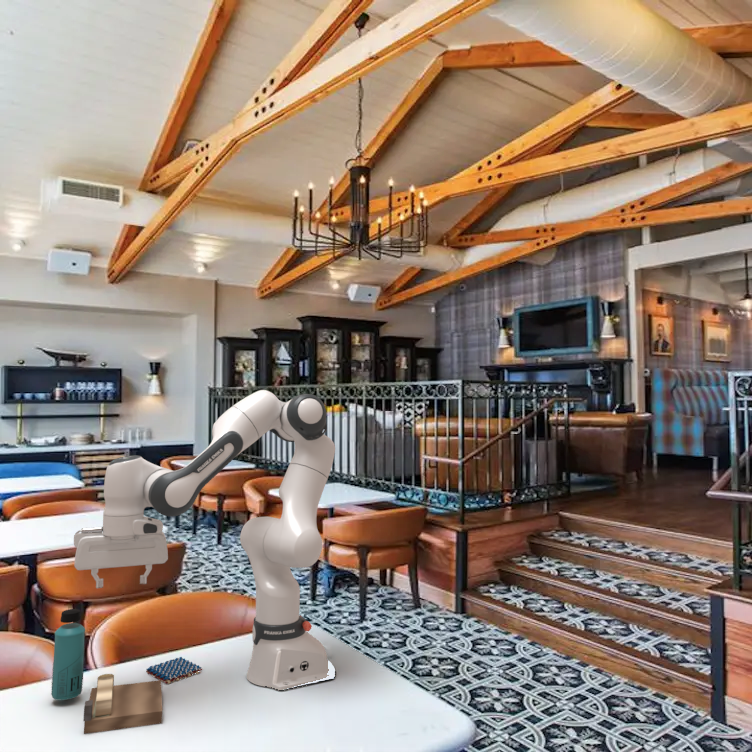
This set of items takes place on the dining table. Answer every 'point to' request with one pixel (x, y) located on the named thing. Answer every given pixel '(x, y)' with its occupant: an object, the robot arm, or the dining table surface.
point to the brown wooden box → (126, 707)
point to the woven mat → (173, 670)
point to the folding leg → (104, 694)
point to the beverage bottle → (68, 657)
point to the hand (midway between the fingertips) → (121, 585)
